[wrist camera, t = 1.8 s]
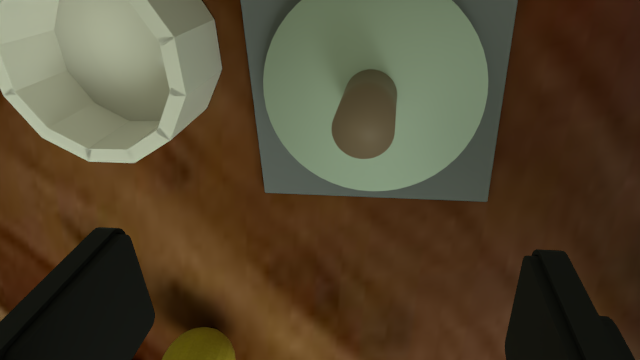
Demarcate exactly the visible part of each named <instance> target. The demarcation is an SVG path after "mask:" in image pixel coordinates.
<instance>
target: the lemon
mask: <svg viewBox="0 0 640 360" xmlns="http://www.w3.org/2000/svg"><path fill="white" fill-rule="evenodd" d="M162 360H235V352H234V349H233V347H232V344H231V342H230V341H229V339H228V338H227V337H226V336H225V335H224V334H223V333H221V332H220V331H219V330H217V329H213V328H209V327H199V328H194V329H191V330H189V331H187V332H185V333H183V334H182V335H180V336H179V337H178V338H177V339H176V340H175V341H174V342H173V343H172V344H171V345H170V347H169V348H168V349H167V351H166V353H165V354H164V356H163V359H162Z"/></svg>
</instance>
